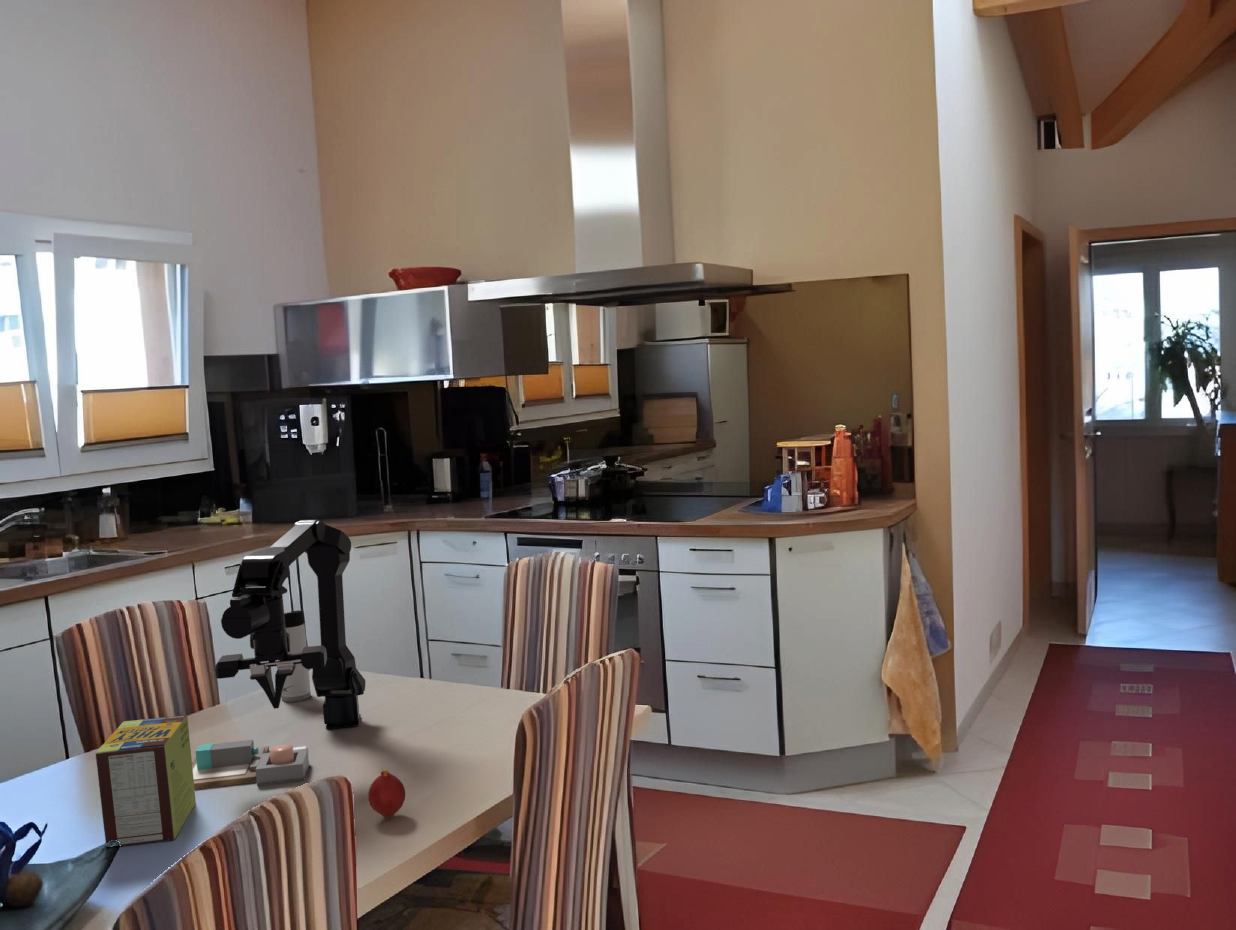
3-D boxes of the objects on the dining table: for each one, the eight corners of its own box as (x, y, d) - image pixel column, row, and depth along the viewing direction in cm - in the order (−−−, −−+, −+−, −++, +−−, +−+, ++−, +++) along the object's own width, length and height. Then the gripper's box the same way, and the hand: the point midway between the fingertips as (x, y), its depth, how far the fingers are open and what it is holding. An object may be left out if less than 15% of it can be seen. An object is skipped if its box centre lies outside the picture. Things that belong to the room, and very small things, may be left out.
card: (306, 747, 207) (306, 745, 207) (303, 756, 202) (303, 754, 202) (274, 751, 206) (274, 749, 206) (270, 760, 201) (270, 758, 201)
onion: (373, 811, 175) (369, 764, 174) (408, 808, 175) (405, 760, 175) (367, 826, 169) (363, 777, 168) (404, 823, 170) (400, 774, 169)
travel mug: (284, 704, 236) (276, 614, 234) (279, 697, 242) (271, 609, 240) (313, 699, 239) (306, 610, 237) (307, 691, 244) (300, 605, 243)
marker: (260, 756, 200) (258, 738, 200) (257, 763, 197) (255, 744, 197) (201, 763, 199) (199, 744, 198) (197, 770, 195) (195, 751, 195)
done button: (296, 764, 196) (294, 743, 195) (293, 772, 192) (291, 751, 191) (273, 767, 195) (271, 746, 195) (270, 775, 191) (268, 753, 191)
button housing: (309, 764, 198) (307, 748, 198) (304, 780, 190) (302, 763, 190) (264, 769, 197) (262, 753, 197) (257, 785, 189) (255, 769, 189)
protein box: (196, 802, 183) (188, 713, 182) (174, 841, 168) (165, 744, 167) (131, 809, 182) (122, 720, 180) (103, 849, 166) (93, 752, 165)
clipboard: (269, 750, 207) (268, 741, 206) (255, 781, 191) (255, 772, 191) (198, 758, 204) (197, 749, 204) (178, 790, 189) (177, 780, 189)
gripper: (325, 608, 203) (333, 688, 204) (222, 618, 199) (230, 700, 201) (320, 622, 192) (328, 707, 193) (210, 633, 189) (219, 719, 190)
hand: (276, 707), depth 195 cm, fingers closed
